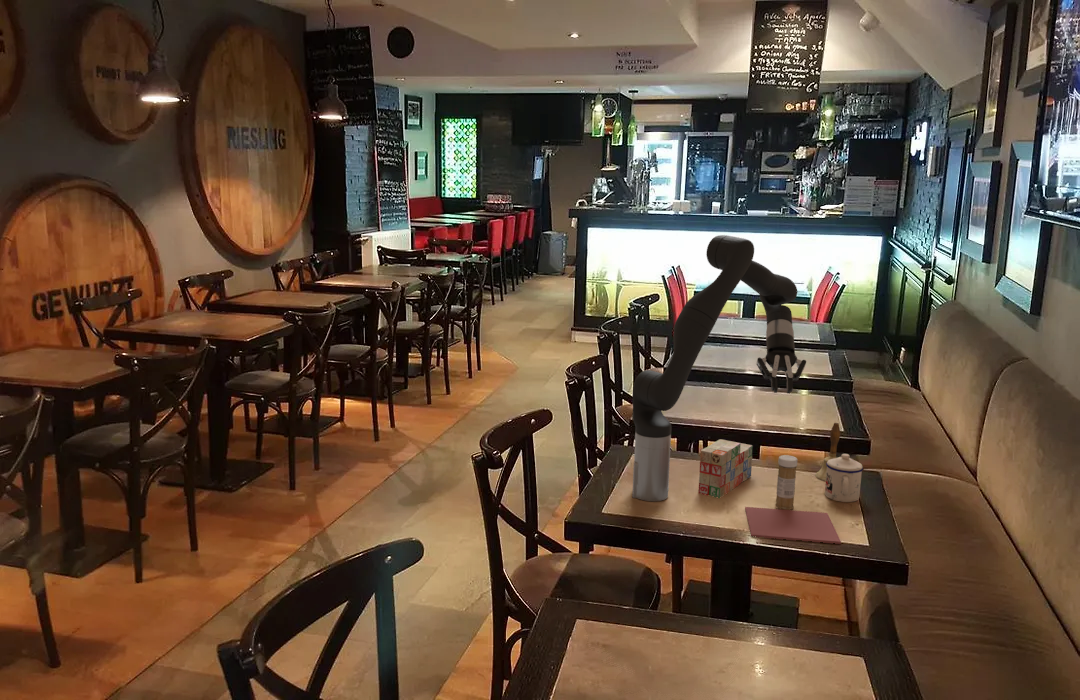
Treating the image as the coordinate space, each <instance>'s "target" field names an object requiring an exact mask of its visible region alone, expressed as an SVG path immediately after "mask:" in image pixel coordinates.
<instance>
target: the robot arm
mask: <svg viewBox="0 0 1080 700" xmlns="http://www.w3.org/2000/svg"><path fill="white" fill-rule="evenodd" d="M705 255H706V259H707V262H708V264H709V265H710V266H711V267H713V268H714V269H717V270H721V272H720V273H719V275H718V276H717V278H715V279H714V281H712V282H711V283H710V284H709V285H708V286H706V287H705V288H703V289H702V290H700V291H699V292H698V293H696V294H694V295H693V296H692V297H691V298H689V299H688V301H687V302H685V304H684V306H683V307H682V309H681V311H680V313H679V315H678V317H677V319H676V320H675V322H674V326H673V335H672V336H673V351H672V355H671V358H670V360H669V364H668V365H667V367H666V368H665V371H664V372H663V373H661V372H659V371H655V370H651V369H650V370H649V369H648V370H643V371H641V372H640V373H639V374H638V375H637V376H636V377H635V380H634V383H633V387H632V421H633V423H634V426H635V432H634V433H635V435H634V457H633V459H634V460H633V468H632V469H633V470H632V473H633V474H632V496H631V497H632V498H633V499H639V500H642V501H644V502H645V501H646V502H660V501H664V500H666V499H667V498H668V497H669V489H670V488H669V482H670V463H671V442H672V441H671V440H672V423H671V421H670V420H669V419H668V418H666V416H665V415H664V414H663V412H667V411H669V410H671V409H672V408H673V407H675V405H676V403H677V402H678V400H679V399H680V397H681V395H682V393H683V391H684V388H685V385H686V383H687V380H688V377H689V375H690V374H691V370H692V368H693V367H694V365H695V362H696V360H697V359H698V356H699V354H700V352H701V350H702V348H703V347H704V345H705V343H706V341H707V339H708V338H709V336H710V334H711V332H712V331H713V329H714V327H715V325H716V323H717V321H718V319H719V318H720V317H719V316H720V314H721V313H722V311H723V309H724V307H725V306H726V304H727V302H728V300H729V298H730V297H731V295H732V294H733V292H734V291H735V289H736V288H737V286H738V284H739V283H740V282H742V283H744V284H745V285H746V286H748V287H749V288H751V289H752V290H754V291H755V292H756V293H757V294H758V295H759V300H760V301H761V303H762V306H763V308H764V312H765V316H766V333H765V340H766V355H765V357H762V358H761V357H757V360H756V366H757V368H758V370H759V371H760V373H761V375H762V377H763V378H764V380H769V381H770V383H771V384H770V385H771V387H770V388H771V391H772V392H773V393H774V394H775V393H778V391H779V389H778V388H779V387H778V386H779V384H778V377H777V374H778V372H780V371H781V372H784V375H785V378H786V394H791V392H793V389H794V381H795V382H797V381H799V379H800V377H801V375H802V374H803V372H804V369H805V368H806V365H807V360H806V359H802V360H801V359H798V357H797V355H796V353H795V351H796V349H795V348H796V347H795V337H794V335H795V333H794V328H793V315H792V311H791V308H790V307H789V306H787V305H785V304H789V303H792V302H793V301H795V299H797V297H798V296H797V295H798V288H797V285H796V283H794V282H793V280H792V279H790V278H789V277H788V276H787V277H786V276H784V275H781V274H777V273H774V272H773V271H771V270H770V269H769V268H767V267H766V266H765V265H763V264H761V263H759V262H757V261H755V260H753V259H754V255H755V246H754V243H753V242H752V241H751V240H749V239H746V238H744V237H743V238H742V237H739V236H731V235H725V234H720V235H716V236H714V237H713V238H711V240H710V241H709V243H708V244H707V248H706V253H705ZM766 364H768V366H769V367H770V368H771V369H772V370H771V372H770V370H769V369H768V367H767V366H766ZM795 364H796V367H797V370H796V371H795V373H793V371H792V369H793V366H794V365H795Z"/></svg>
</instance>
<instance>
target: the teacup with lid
mask: <svg viewBox="0 0 1080 700" xmlns="http://www.w3.org/2000/svg"><path fill="white" fill-rule="evenodd" d="M826 465H827V473H826V481H825V484H824V495H825V497H827V498H828V499H830V500H832V501H837V502H841V503H854V502H856V501H858V500H860V492H861V485H862V484H861V482H862V474H863V473H862V472H863V470H864V467H863V465H862V463H860V462H859V461H857V460H854V458H851V457H850V454H848V453H842V454H841V456H839V457H837V458H834V459H830V460H828V461H827V463H826Z"/></svg>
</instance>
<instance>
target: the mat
mask: <svg viewBox="0 0 1080 700" xmlns="http://www.w3.org/2000/svg"><path fill="white" fill-rule="evenodd" d="M744 509H745V514H746V515H745V516H746V519H747V524H748V529H749V533H751V534H750V536H754V537H753V538H759V537H764V538H763V539H771V538H774V539H773V540H783V539H786V540H785V541H796V540H802V541H801V542H808V541H812V542H811V543H820V542H823V543H822V544H833V543H835V544H834V545H841V544H842V541H841V539H840V537H839V534H838V533H837V530H836V528H835V526H834V523H833V522H832V519H831V517H830V516H829V513H828V512H820V511H819V512H818V511H807V510H806V511H805V510H797V509H796V510H795V509H792V510H782V509H779V508H765V507H753V506H744ZM755 536H756V537H755ZM775 538H776V539H775Z"/></svg>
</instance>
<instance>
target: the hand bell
mask: <svg viewBox="0 0 1080 700" xmlns="http://www.w3.org/2000/svg"><path fill="white" fill-rule="evenodd" d="M829 433H830V435H829V439H830V451H829V455H828V456H826V457H824V458H823V461H822V462H823V463H822V465H821V468H820V469H819V471H817V472H815V477H816V478H817V479H819V480H821V481H824V482H826V473H827V465H826V463H827V461H828V460H830V459H834V458H838V457H837V448H838V447H837V446H838V443H839V441H840V437H841V429H840V423H838V422H834V423H833V424H832V428H831V430H830V432H829Z"/></svg>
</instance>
